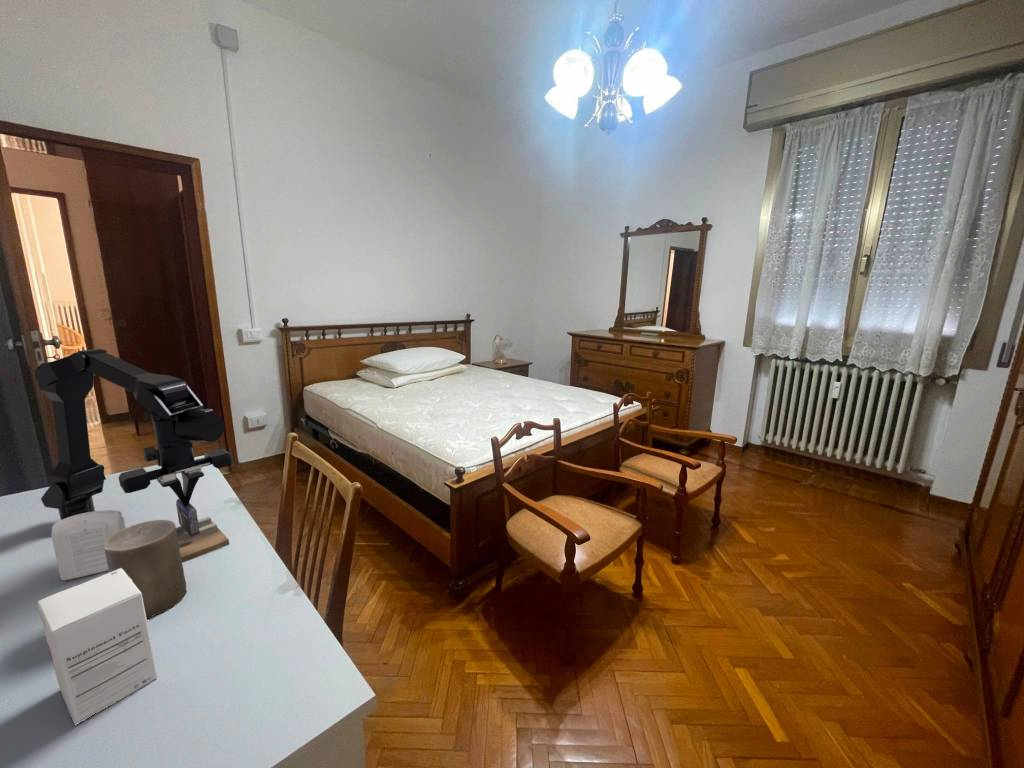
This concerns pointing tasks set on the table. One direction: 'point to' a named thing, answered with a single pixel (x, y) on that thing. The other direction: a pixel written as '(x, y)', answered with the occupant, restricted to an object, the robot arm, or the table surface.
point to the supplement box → (98, 642)
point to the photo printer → (84, 542)
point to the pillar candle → (149, 562)
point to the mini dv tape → (188, 518)
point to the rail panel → (200, 540)
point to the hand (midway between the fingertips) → (185, 504)
